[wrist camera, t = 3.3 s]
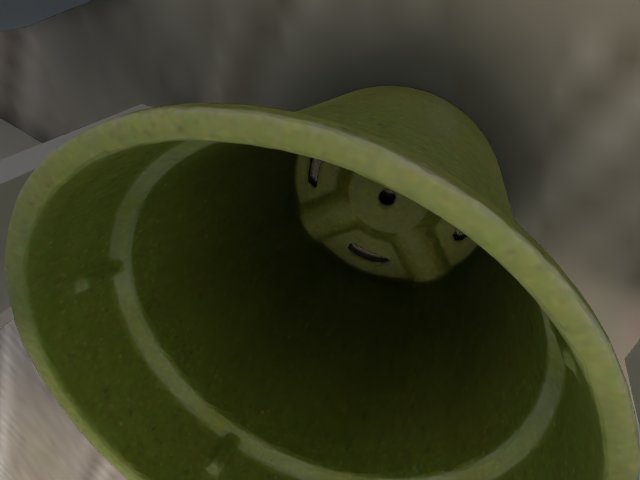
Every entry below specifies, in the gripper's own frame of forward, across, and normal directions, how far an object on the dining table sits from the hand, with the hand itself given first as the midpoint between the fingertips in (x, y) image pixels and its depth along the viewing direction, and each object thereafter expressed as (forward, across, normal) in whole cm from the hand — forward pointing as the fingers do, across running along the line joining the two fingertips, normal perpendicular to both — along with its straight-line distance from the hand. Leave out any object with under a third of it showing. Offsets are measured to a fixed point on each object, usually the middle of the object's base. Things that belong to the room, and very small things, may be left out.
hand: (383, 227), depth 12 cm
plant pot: (+2, 0, 0) cm, 3 cm away
